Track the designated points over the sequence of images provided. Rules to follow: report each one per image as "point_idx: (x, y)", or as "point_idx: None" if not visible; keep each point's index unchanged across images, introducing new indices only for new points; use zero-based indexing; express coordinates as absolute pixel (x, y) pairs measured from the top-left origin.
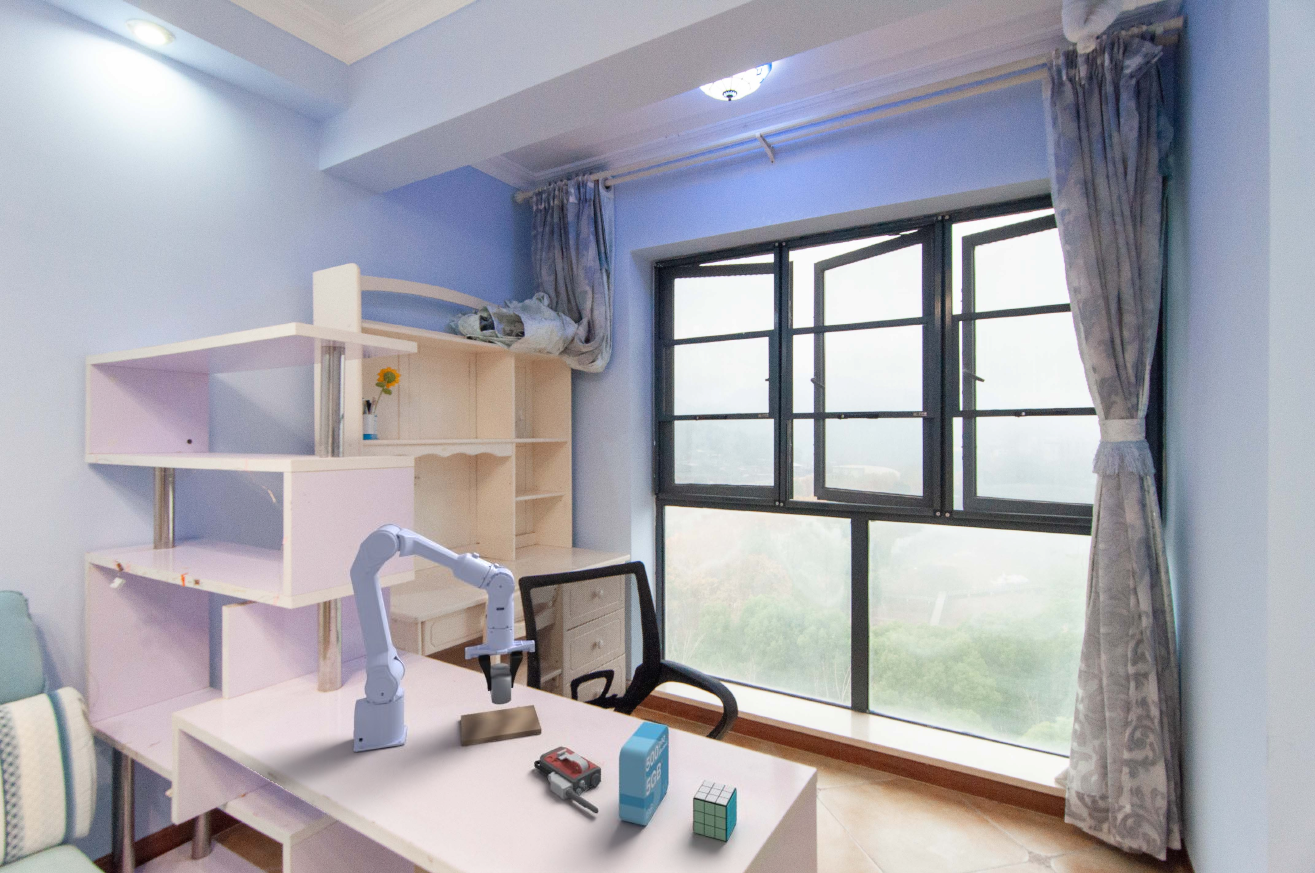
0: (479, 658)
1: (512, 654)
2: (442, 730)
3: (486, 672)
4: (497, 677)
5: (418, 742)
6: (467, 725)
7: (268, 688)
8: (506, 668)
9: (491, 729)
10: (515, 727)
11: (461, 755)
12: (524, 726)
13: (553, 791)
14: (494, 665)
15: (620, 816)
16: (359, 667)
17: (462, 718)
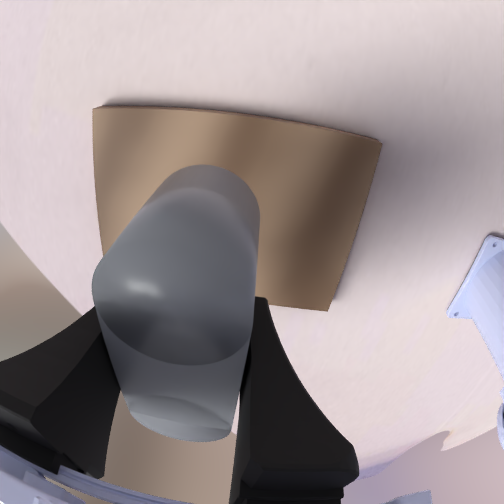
0: (332, 499)
1: (52, 453)
2: (390, 266)
3: (285, 387)
4: (203, 314)
5: (460, 230)
6: (332, 243)
7: (476, 436)
8: (137, 393)
9: (263, 175)
10: (174, 152)
11: (393, 77)
12: (143, 146)
13: None
14: (203, 435)
15: None
16: (382, 465)
17: (330, 292)
